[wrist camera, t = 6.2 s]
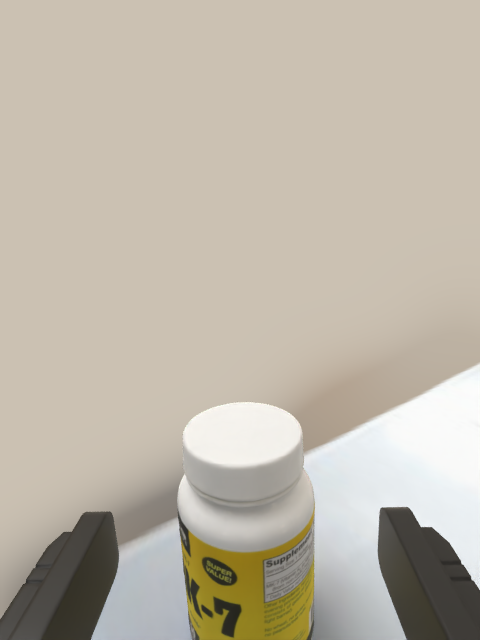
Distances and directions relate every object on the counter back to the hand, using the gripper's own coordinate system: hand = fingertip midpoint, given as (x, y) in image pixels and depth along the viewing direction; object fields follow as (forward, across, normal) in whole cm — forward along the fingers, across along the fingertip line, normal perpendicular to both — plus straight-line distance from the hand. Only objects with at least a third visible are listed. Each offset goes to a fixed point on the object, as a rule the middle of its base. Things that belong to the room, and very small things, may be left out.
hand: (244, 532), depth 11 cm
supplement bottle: (+2, 0, +6) cm, 6 cm away
